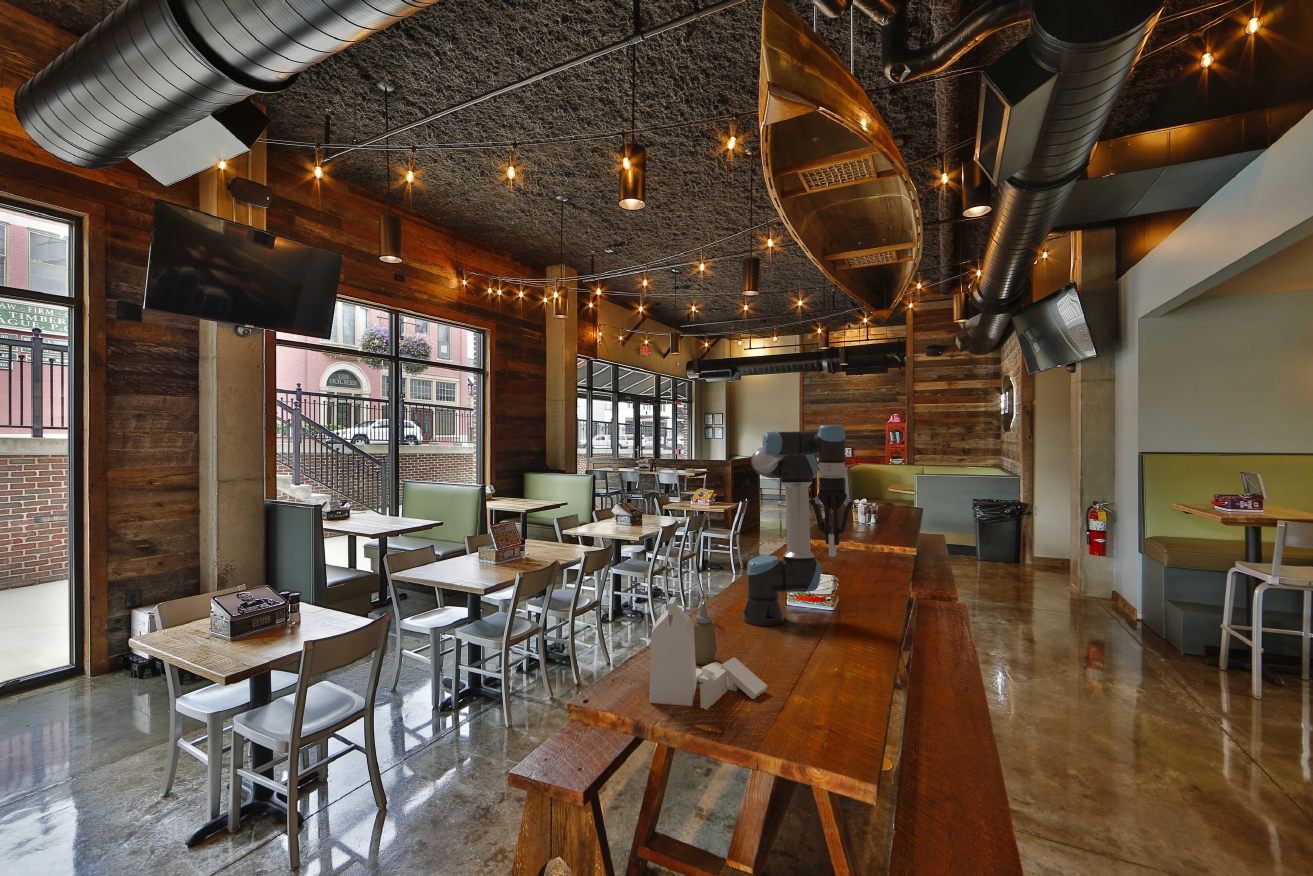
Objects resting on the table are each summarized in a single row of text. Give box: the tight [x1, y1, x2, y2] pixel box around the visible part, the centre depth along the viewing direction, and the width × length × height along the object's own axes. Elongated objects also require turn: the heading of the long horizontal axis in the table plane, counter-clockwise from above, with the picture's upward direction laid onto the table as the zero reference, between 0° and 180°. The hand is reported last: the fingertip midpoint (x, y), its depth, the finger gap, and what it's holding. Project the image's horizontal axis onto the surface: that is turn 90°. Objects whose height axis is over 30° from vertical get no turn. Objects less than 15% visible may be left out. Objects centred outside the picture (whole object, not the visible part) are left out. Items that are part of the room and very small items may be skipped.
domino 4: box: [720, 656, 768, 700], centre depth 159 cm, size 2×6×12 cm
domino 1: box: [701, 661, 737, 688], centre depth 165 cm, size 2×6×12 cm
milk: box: [648, 596, 698, 707], centre depth 158 cm, size 12×12×26 cm
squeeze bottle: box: [693, 603, 718, 666], centre depth 179 cm, size 8×8×18 cm
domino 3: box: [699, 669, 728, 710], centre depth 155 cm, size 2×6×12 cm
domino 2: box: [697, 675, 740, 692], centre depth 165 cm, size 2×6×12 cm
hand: (832, 555), depth 171 cm, fingers closed
